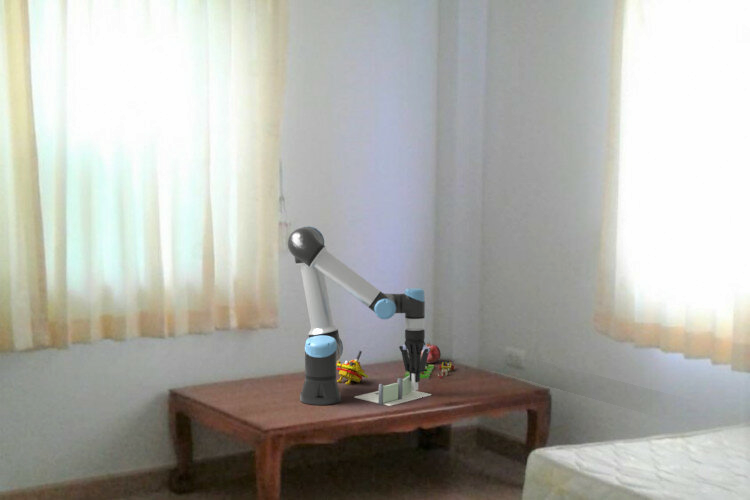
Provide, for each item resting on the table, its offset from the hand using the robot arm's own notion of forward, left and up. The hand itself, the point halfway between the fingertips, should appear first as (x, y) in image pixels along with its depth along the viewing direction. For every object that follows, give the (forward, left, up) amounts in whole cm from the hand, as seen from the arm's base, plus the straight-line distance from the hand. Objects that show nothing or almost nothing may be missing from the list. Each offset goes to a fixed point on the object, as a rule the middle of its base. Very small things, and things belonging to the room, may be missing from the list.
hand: (414, 390), depth 348 cm
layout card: (-7, +5, -2) cm, 9 cm away
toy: (-1, +33, -2) cm, 33 cm away
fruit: (+54, +36, -2) cm, 65 cm away
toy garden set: (+37, +22, -3) cm, 43 cm away
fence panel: (-2, +3, -1) cm, 3 cm away
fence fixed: (-14, 0, -2) cm, 14 cm away
